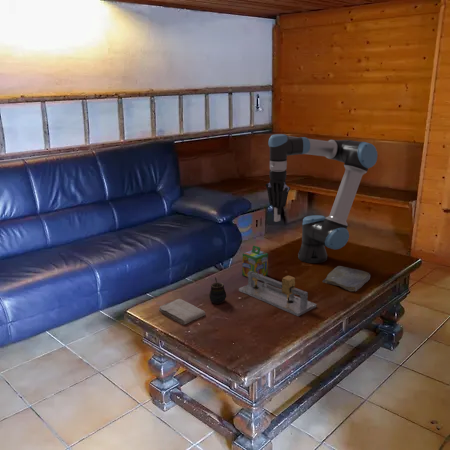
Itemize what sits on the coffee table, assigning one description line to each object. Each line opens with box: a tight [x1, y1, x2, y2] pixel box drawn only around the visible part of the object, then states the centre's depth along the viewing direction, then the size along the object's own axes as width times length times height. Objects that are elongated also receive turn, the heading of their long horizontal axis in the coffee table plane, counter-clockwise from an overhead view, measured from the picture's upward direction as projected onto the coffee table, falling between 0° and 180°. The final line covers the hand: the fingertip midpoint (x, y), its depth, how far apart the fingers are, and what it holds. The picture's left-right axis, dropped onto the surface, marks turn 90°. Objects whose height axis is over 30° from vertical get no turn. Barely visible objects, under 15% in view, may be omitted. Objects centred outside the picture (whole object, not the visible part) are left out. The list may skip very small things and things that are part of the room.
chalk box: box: [241, 245, 269, 278], centre depth 228 cm, size 9×9×15 cm
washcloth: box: [158, 298, 206, 325], centre depth 194 cm, size 12×18×3 cm, turn 45°
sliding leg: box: [281, 275, 296, 301], centre depth 199 cm, size 4×4×10 cm
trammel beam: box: [238, 271, 317, 317], centre depth 204 cm, size 12×34×8 cm, turn 43°
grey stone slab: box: [322, 265, 371, 292], centre depth 221 cm, size 20×5×17 cm
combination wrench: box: [262, 282, 298, 299], centre depth 208 cm, size 4×1×20 cm
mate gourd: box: [209, 276, 227, 305], centre depth 202 cm, size 7×8×10 cm
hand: (277, 220), depth 215 cm, fingers closed
